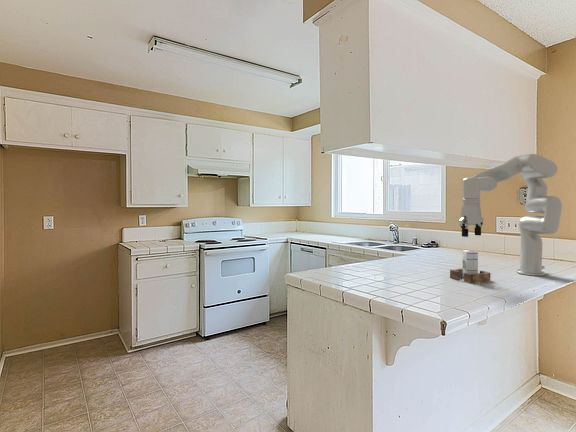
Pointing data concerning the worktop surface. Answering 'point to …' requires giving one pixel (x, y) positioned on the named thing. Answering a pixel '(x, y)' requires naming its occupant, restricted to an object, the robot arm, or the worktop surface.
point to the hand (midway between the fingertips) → (471, 235)
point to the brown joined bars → (470, 276)
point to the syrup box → (470, 262)
